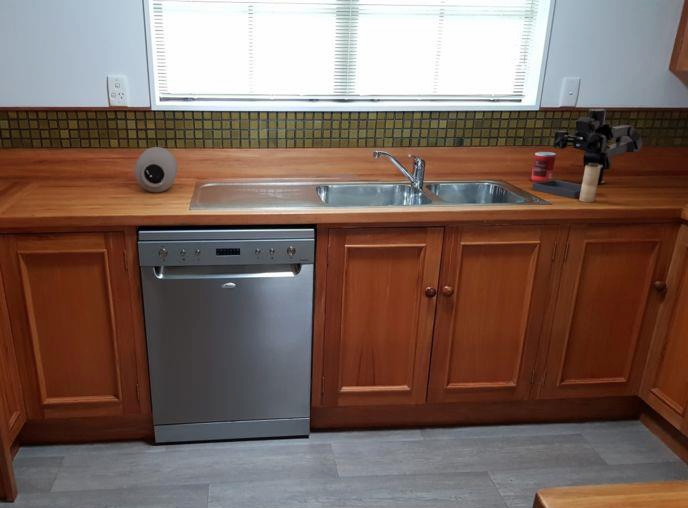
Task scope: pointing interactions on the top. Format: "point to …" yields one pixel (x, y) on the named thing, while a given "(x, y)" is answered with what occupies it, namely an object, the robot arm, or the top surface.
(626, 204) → the top surface
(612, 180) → the top surface
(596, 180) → the pepper mill
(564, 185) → the tray
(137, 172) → the grey egg shaped device
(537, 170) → the canned food
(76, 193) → the top surface
